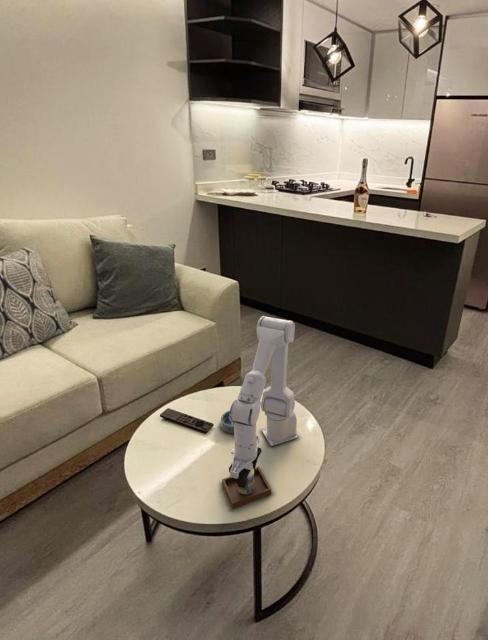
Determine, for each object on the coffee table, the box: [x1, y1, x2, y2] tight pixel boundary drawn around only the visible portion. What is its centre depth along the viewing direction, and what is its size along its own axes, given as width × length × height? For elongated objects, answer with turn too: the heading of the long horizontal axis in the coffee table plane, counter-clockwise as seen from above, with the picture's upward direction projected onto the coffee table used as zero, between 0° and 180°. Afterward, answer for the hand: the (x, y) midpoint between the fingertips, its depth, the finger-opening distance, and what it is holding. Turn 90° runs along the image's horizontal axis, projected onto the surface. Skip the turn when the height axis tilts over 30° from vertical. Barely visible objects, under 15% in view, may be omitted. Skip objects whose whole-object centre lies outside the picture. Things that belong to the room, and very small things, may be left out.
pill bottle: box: [237, 462, 254, 494], centre depth 113 cm, size 5×5×8 cm
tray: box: [221, 466, 272, 510], centre depth 114 cm, size 11×9×2 cm
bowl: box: [220, 410, 234, 434], centre depth 139 cm, size 9×9×3 cm
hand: (246, 478), depth 113 cm, fingers open, 5 cm apart
